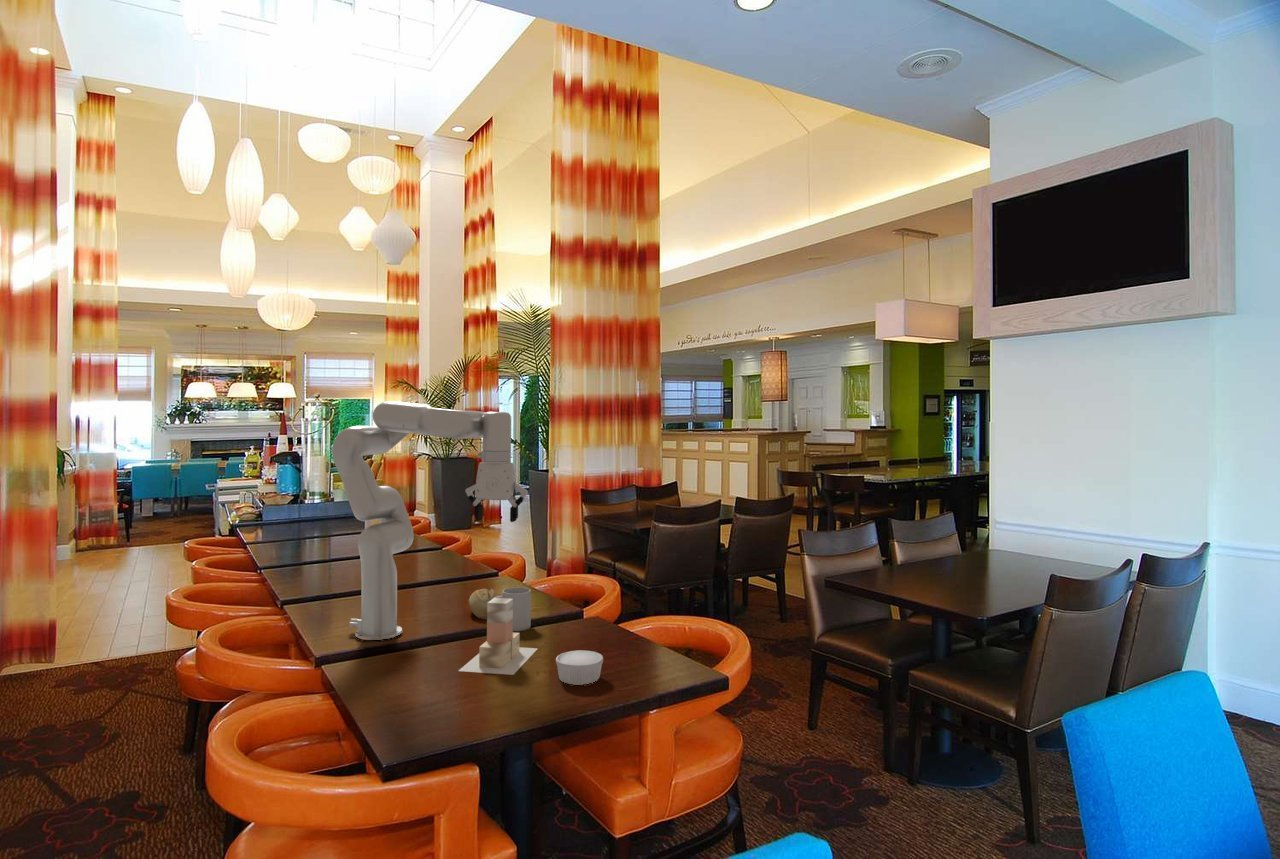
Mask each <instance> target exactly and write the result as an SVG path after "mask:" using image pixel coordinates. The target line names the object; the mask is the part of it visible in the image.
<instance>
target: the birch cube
mask: <svg viewBox="0 0 1280 859" xmlns="http://www.w3.org/2000/svg"><path fill="white" fill-rule="evenodd" d="M512 618H513V599H508V598H493V599H492V600H491V601H489V602H488V603H487V619H486V623H487V622H489V623H507V622H509V621H510V620H511V619H512Z"/></svg>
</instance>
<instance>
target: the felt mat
mask: <svg viewBox="0 0 1280 859" xmlns="http://www.w3.org/2000/svg"><path fill="white" fill-rule="evenodd" d="M538 649H539V648H535V647H524V646H523V647H521V646H519V653H518V654H517V655H516V656H515V657H514V658H513V659H511V661H510V662H509V663H508V664H507V665H506V666H505V667H504V668H503V669H501V668H485V667H479V653H477V655H475V656H474V657H473V658H471V659H470V660H469V661H467V663H466V664H464V665H463V666H462V667H460V668H459V669H458V672H466V673H478V674H479V673H480V674H495V675H509V676H514V675H515V674H516V673H517V671H519V669H521V667H522V666H523V665H524V664H525V663H526V662H527V661H528V660H529V659H530V658H531V657H532V656H533V655H534V653H535V652H536V651H538Z"/></svg>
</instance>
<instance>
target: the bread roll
mask: <svg viewBox="0 0 1280 859" xmlns="http://www.w3.org/2000/svg"><path fill="white" fill-rule="evenodd" d="M497 596H500V595H499V593H498V592H497V591H496V590H495V589H494V588H491V587H489V588H481V589H475V591H473V592H472V593H471V595H470V596H469V599H468V605H469V607H470V610H471V612H472V613H473V614H474V616H475V617H476V618H478V619H480V618H481V620H487V603H488V602H489V601H491V600H492V599H493V598H494V597H497Z"/></svg>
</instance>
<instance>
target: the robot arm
mask: <svg viewBox="0 0 1280 859" xmlns="http://www.w3.org/2000/svg"><path fill="white" fill-rule="evenodd" d="M372 420H373V422H374V424H375V425H354V426H349V427H346V428H344V429H343V430H341V431H340V432H338V434H337V435H336V437H335V438H334V439H333V444H332V447H331V455H332V460H333V463H334V466H335V468H336V471H337V473H338V475H339V476H340V479H341V482H342V485H343V488H344V491H345V494H346V497H347V500H348V503H349V506H350V509H351V511H352V513H353V516H354V517H355V519H356V520H358V521H361V522H373V521H378V522H379V523H375V524H372V525H370V526H368V527H366V528H364V530H363V529H362V531H361V533H360V534H359V536H358V539H357V540H358V541H357V548H358V553H359V557H360V558H359V559H360V567H361V568H360V569H361V571H360V572H361V575H360V577H361V581H360V582H361V595H360V596H361V597H360V598H361V606H360V607H361V609H360V610H361V612H360V614H361V615H360V617H361V618H360V619H359V618H354V617H353V618H350V620H349V623H348V624H349V625H348V627H349V628H357V630H356V631H355V633H354V637H355V636H356V637H358V638H361V639H368V640H377V639H387V638H391V637H395V636H398V635H400V634H401V633H402V634H403V627H402V626H400V625H398V569H397V565H396V562H395V559H394V556H393V555H394V554H398V553H401V552H404V551H406V550H408V549H409V548H410V547H411V546H412V544H413V543H414V542H413V541H414V538H415V537H414V536H415V535H414V529H413V525H412V522H411V519H410V517H409V513H408V511H407V507H406V505H405V502H404V499H403V497H402V496H401V494H400V493H399V491H398V490H397V489H395V488H393V487H392V486H389V485H379V484H378V483H377V481H376V479H375V475H374V473H373V470H372V468H371V466H370V465H369V464H368V463H367V462H366V461H365V459H364V456H373V455H375V456H377V455H382V454H386V453H387V452H389V451H391V450H392V449H394V448H395V446H396V445H398V444H399V443H400V442H401V441H403V440H404V439H405V438H406V437H407V436H408V435H409V434H411V435H412V434H414V435H421V436H430V437H431V436H432V437H438V438H439V437H440V438H448V439H455V440H457V439H459V440H462V439H463V440H464V439H481V438H482V450H481V452H477V458H480V459H481V461H482V462H479V463H478V469H477V474H476V481H475V482H476V483H475V484H473V485H472V486H469V487H467V488H465V493H466V496H467V498H468V500H469V502H471V503H472V506H473V507H474V518H475V521H476V522H478V521H482V520H483V518H484V517H483V510H484V509H483V504H482V503H483V502H484V500H485V501H507V502H509V503H510V504H511V507H510V508H509V509H510V512H509V521H510V522H511V523H514V522H517V519H518V518H519V506H520V505H521V504H522V503H523V502H524V501H525V499H526V497H527V495H528V493H529V491H528V490H527V489H525V488H524V487H522V486H520V485H519V484H517V482H516V480H517V478H516V472H515V465H514V462H512V416H511V414H510V413H509V412H505V411H487V412H484V411H480V410H479V411H478V410H461V409H460V410H458V409H446V408H436V407H432V406H431V405H430V404H424V403H423V404H422V403H421V404H420V403H413V402H412V403H411V402H407V401H406V402H405V401H389V400H388V401H383V402H381V403H379V404H377V406H376V407H375V408H374V410H373V412H372ZM474 491H475V495H474ZM517 492H518V493H520V495H519V497H518V498H517V497H516V495H517ZM402 634H401V635H402ZM401 635H400V636H401ZM356 637H355V638H356ZM398 637H399V636H398ZM395 638H396V637H395Z"/></svg>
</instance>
